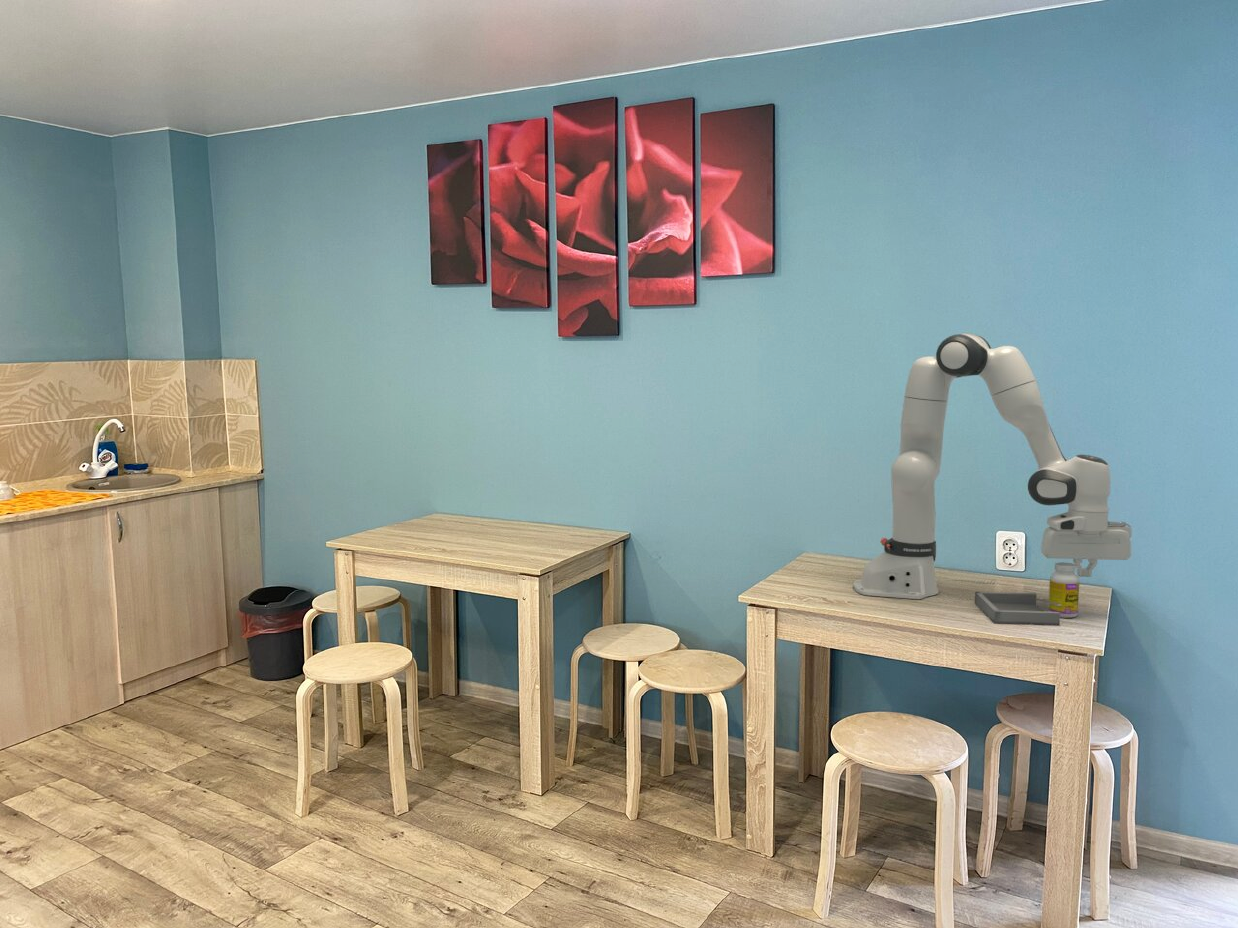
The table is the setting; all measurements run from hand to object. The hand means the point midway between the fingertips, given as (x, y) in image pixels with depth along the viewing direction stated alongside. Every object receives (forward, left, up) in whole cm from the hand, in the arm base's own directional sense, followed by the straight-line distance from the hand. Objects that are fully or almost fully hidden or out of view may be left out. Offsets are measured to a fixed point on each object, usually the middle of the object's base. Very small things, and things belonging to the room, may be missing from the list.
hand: (1084, 576), depth 230 cm
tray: (-16, 0, -10) cm, 19 cm away
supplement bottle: (-4, 0, -10) cm, 11 cm away
